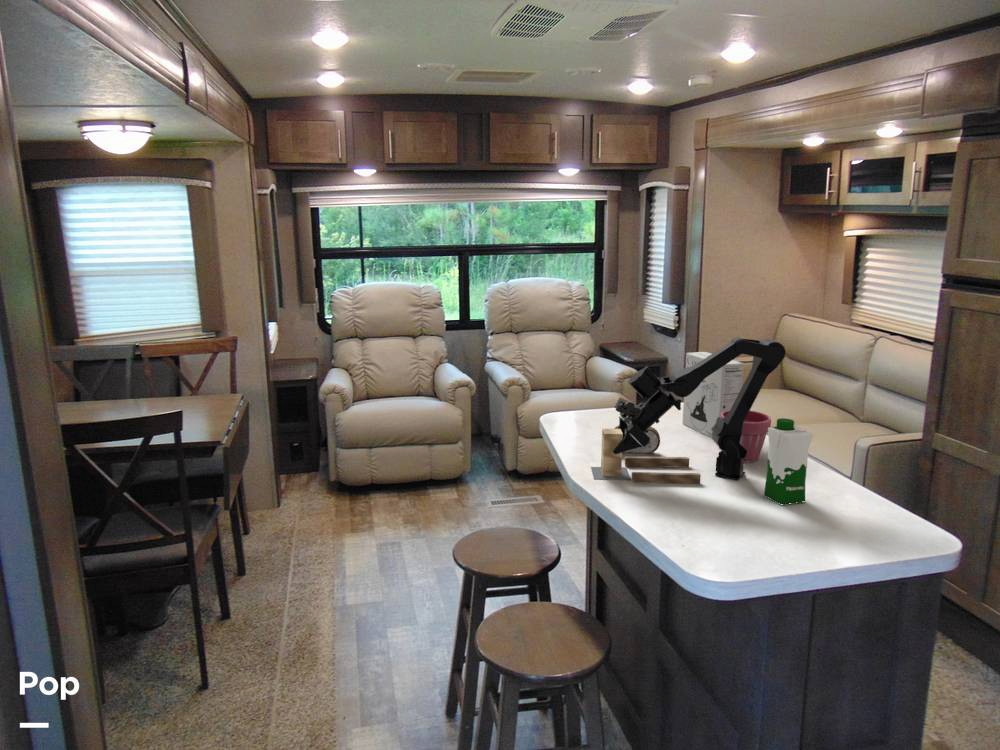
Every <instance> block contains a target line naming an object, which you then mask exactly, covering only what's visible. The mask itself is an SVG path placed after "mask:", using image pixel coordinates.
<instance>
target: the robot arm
mask: <svg viewBox="0 0 1000 750" xmlns="http://www.w3.org/2000/svg"><path fill="white" fill-rule="evenodd" d="M786 353H787V352H786V348H785V346H784V345H783V344H782V343H780V342H778V341H776V340H774V339H771V338H764V339H762V340H757V339H750V338H744V337H743V338H742V337H740V336H738V337H737V336H736V337H734V338H732V339H731V341H729V342H728V343H726V344H725V345H723V346H722V347H720V348H719V349H717V350H715V351H714V352H712V353H711V355H709V356H708V357H706V358H705V359H703V360H702V361H700V362H699V363H697V364H696V365H694V366H691V367H688V368H686V367H685V368H682V369H680V370H677V371H676V372H673V373H672V374H671V375H670V376H663V377H657V376H656V375H655V374H654V373H653V372H652V370H651V369H650V368H649V367H648V366H644V368H641V369H640V370H638V371H637V372H636V371H635V373H634V374H632V376H630V378H629V379H628V382H627V384H628V385H629V386H630V387H631V388H632V389H633V390H634V391H635V392H637V394H638V395H639V396H640V397H641V398H648V400H647V401H645V402H643V401H642V402H640V403H638V405H637V404H635V403H634V402H632V401H630V400H627V399H625V398H623V397H620V396H619V398H618V400H617V402H616V404H615V405H614V408H615V411H616V412H618V413H619V416H618V421H619V422H618V425H617V426H618V428H617V429H621V431H622V433H623V439H622V440H621V441H620V443H619V444H618V445H617V446H616V448H615V449H614V450H613V453H614V454H619V453H622V452H625V451H628V450H631V449H635V448H638V447H642V446H644V447H645V446H646V445H647V444H648V443H650V437H649V436H648V434H647V433H648V432H649V431H648V429H649V428H650V427H652V426H653V425H655V423H656V424H659V423H660V422H661V421H660V418H662V417H663V416H664V415H665V414H666V413H667V412H669V410H671V409H672V408H673V407H675V408H676V409H677V411H681V410H682V408H681V405H682V404H681V403H682V400H681V398H684V397H686V396H689V395H690V394H691V393H692V392H693V391H694V390H695V389H696V388H697V387H698V386H699V385H700V383H701V382H702V381H703V380H704V379H705V378H706V377H708V376H709V375H711V374H712V373H714V372H715V371H717V370H718V369H720V368H721V367H723V366H724V365H726V364H727V363H729V362H730V361H732V360H735V359H737V358H738V357H739V356H741V355H747V356H751V357H752V366H751V369H750V371H749V373H748V374H747V377H746V379H745V381H744V382H743V383H742V388H741V390H740V392H739V394H738V396H737V398H736V400H735V402H734V404H733V406H732V408H731V410H730V411H729V413H728V415H727V416H725V417H724V418H723V419H722V418H720V417H718V418H717V420H716V423H715V425H714V427H713V428H711V429H712V430H713V432H712V438H711V439H712V440H713V442H714V443H715V444H716V445H717V447H718V449H719V450H720V451H719V452H718V456H717V457H716V460H715V474H714V476H717V477H722V478H725V479H730V480H731V479H732V480H735V481H736V480H740V479H741V478H742V477H743V476H744V475H746V472H745V471H744V469H745V468H744V467H745V462H744V458H745V456H746V454H747V450H746V449H745V448H744V447H743V446H742V445H741V444H740V443H739V442H740V439H741V436H742V430H743V423H744V420H745V418H746V417H747V415H748V413H749V411H751V409H752V407H753V405H754V403H755V401H756V399H757V398H758V396H759V394H760V392H761V390H762V387H763V386H764V384H765V382H766V380H767V378H768V377H769V375H771V373H772V372H774V371H775V370H776V369H778V367H779V365H780V364H781V363H782V362H783V360H784V359H785V357H786ZM661 387H662V388H663V390H662V389H661ZM664 390H665V392H664ZM672 393H673V394H674V395H675V396H677V397H679V398H676V397H675V396H674V395H673V394H672ZM622 454H623V453H622Z"/></svg>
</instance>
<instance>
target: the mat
mask: <svg viewBox="0 0 1000 750" xmlns="http://www.w3.org/2000/svg"><path fill="white" fill-rule="evenodd" d="M591 469H592V470H591ZM590 470H591V472H592V476H593V479H594V480H609V481H610V480H611V481H612V480H613V481H615V480H616V481H617V480H623V481H625V480H626V481H630V480H631V479H632V477H631V476H630V473H629V470H628V467H627V466H625V467H624V466H623V467H622V469H621V476H603V475H602V472H601V466H590Z"/></svg>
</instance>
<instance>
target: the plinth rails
mask: <svg viewBox="0 0 1000 750" xmlns="http://www.w3.org/2000/svg"><path fill="white" fill-rule="evenodd" d="M624 466H625V467H633V468H634V467H635V468H637V467H641V468H643V467H645V468H646V467H647V468H650V467H651V468H690V457H687V456H636V455H635V456H629V455H628V456H627V455H626V456H624ZM701 476H702V475H701V473H700V472H659V471H658V472H657V471H656V472H650V471H649V472H648V471H644V472H643V471H634V472H633V471H632V472H631V483H632V484H677V485H679V484H681V485H686V484H688V485H690V484H691V485H700V484H701Z"/></svg>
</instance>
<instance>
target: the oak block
mask: <svg viewBox="0 0 1000 750" xmlns="http://www.w3.org/2000/svg"><path fill="white" fill-rule="evenodd" d="M601 429H602V430H601V452H600V454H601V458H600V459H601V460H600V467H601V472H602V475H603V476H621V469H622V463H623V460H622V459H623V453H619V454H614V453H613V450H614V449H615V448H616V446H617V445H618V444H619V443H620V441H621V440H622V439H623V433H622V431H621V429H614V428H601Z"/></svg>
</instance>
